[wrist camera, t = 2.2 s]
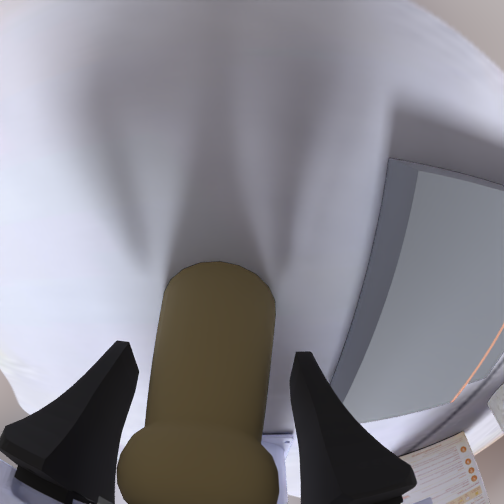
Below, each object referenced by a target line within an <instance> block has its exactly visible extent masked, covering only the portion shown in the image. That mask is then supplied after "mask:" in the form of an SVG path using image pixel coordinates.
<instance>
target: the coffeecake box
mask: <svg viewBox="0 0 504 504" xmlns="http://www.w3.org/2000/svg"><path fill="white" fill-rule="evenodd" d="M399 458H400V459H402V460H403V461H405V462H406V463H408V464H410V465H411V467H412V469H413V471H414V474H415V476H416V480H417V485H416V486H415V487H414V488H413V489H411V490H410V491H408V492H406V493H405V494H403V495H402V497H403V502H402V503H400V504H413V503H416V502H419V501H421V500H424V499H426V498H429V497H430V498H432V502H433V504H490V501H489V498H488V495H487V491H486V489H485V485H484V483H483V480H482V477H481V474H480V471H479V468H478V466H477V463H476V460H475V458H474V455H473V453H472V450H471V448H470V445H469V443H468V440H467V438H466V436H465V434H464V431H462V432H461V433H459V434H457V435H455V436H452V437H450V438H448V439H446V440H443V441H441V442H439V443H436V444H434V445H431V446H429V447H426V448H423V449H421V450H418V451H415V452H412V453H410V454H407V455H404V456H401V457H399Z"/></svg>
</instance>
